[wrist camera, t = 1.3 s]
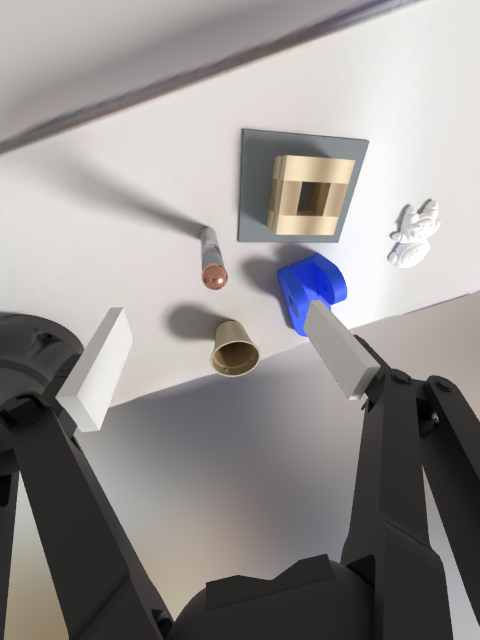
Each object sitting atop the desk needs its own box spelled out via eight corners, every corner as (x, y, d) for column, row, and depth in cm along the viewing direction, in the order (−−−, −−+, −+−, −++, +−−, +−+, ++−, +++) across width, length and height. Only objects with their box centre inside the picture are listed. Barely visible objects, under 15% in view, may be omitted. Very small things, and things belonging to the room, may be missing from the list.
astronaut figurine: (445, 197, 37) (462, 199, 35) (419, 262, 44) (432, 268, 42) (398, 205, 37) (412, 208, 34) (379, 270, 44) (390, 276, 42)
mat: (238, 241, 35) (238, 242, 35) (243, 129, 27) (244, 129, 27) (337, 242, 38) (338, 242, 38) (368, 141, 30) (369, 140, 30)
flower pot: (223, 306, 42) (228, 333, 35) (259, 323, 46) (270, 351, 40) (200, 338, 46) (200, 368, 39) (235, 351, 50) (242, 381, 43)
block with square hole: (266, 226, 34) (276, 234, 30) (275, 156, 29) (287, 155, 25) (318, 227, 36) (333, 235, 32) (334, 160, 31) (355, 160, 27)
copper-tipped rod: (200, 243, 35) (202, 294, 21) (199, 226, 33) (200, 269, 19) (216, 243, 35) (228, 294, 21) (216, 226, 34) (229, 269, 20)
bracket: (276, 270, 40) (293, 294, 33) (318, 253, 39) (345, 272, 32) (295, 335, 51) (311, 363, 43) (328, 322, 50) (350, 349, 43)
